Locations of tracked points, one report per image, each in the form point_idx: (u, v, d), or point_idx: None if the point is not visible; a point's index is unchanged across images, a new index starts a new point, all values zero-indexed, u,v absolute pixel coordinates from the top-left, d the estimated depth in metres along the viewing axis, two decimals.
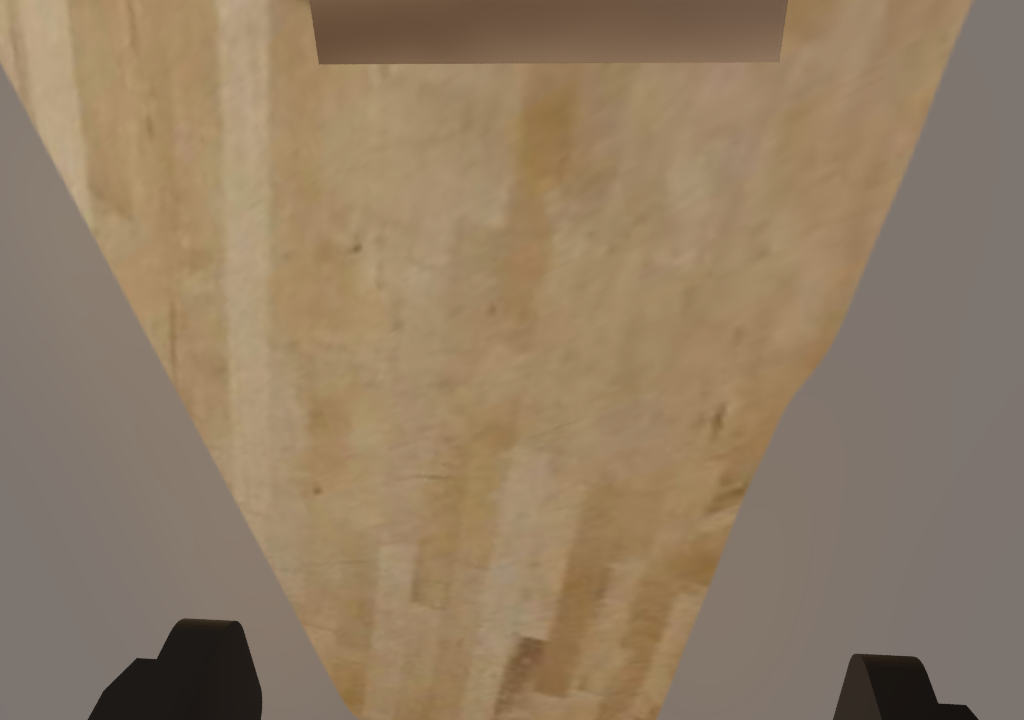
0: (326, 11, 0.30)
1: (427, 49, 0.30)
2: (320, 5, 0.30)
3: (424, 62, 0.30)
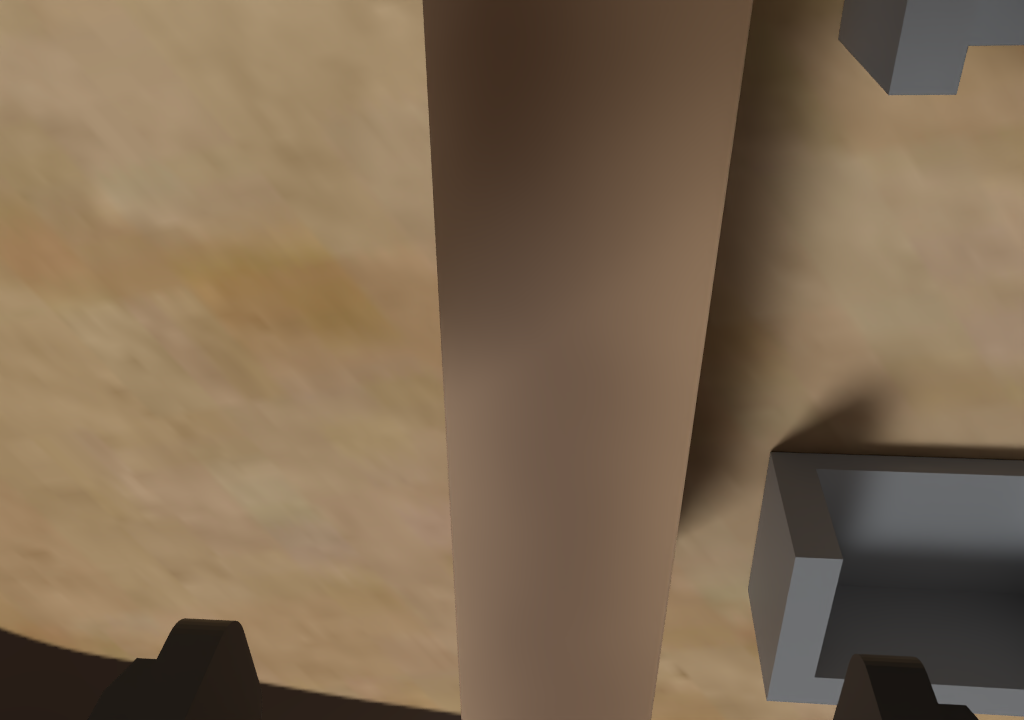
0: (558, 31, 0.11)
1: (468, 262, 0.13)
2: (574, 16, 0.11)
3: (439, 253, 0.13)
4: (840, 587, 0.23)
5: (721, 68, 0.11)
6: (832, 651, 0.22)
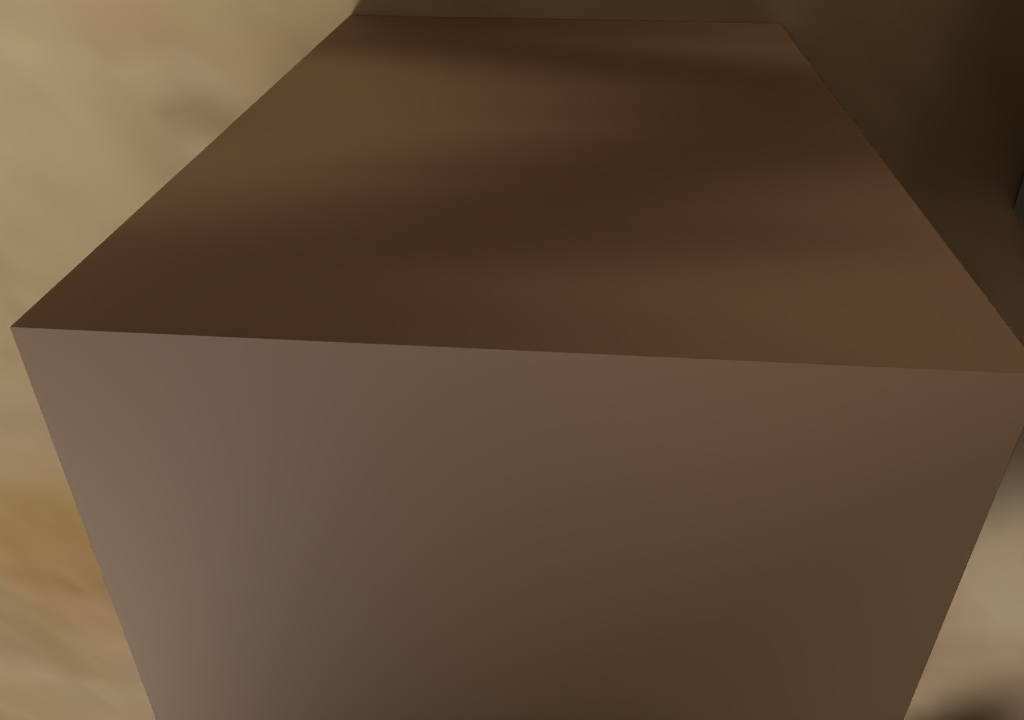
0: (432, 448, 0.04)
1: None
2: (475, 415, 0.04)
3: None
4: None
5: (907, 545, 0.04)
6: None
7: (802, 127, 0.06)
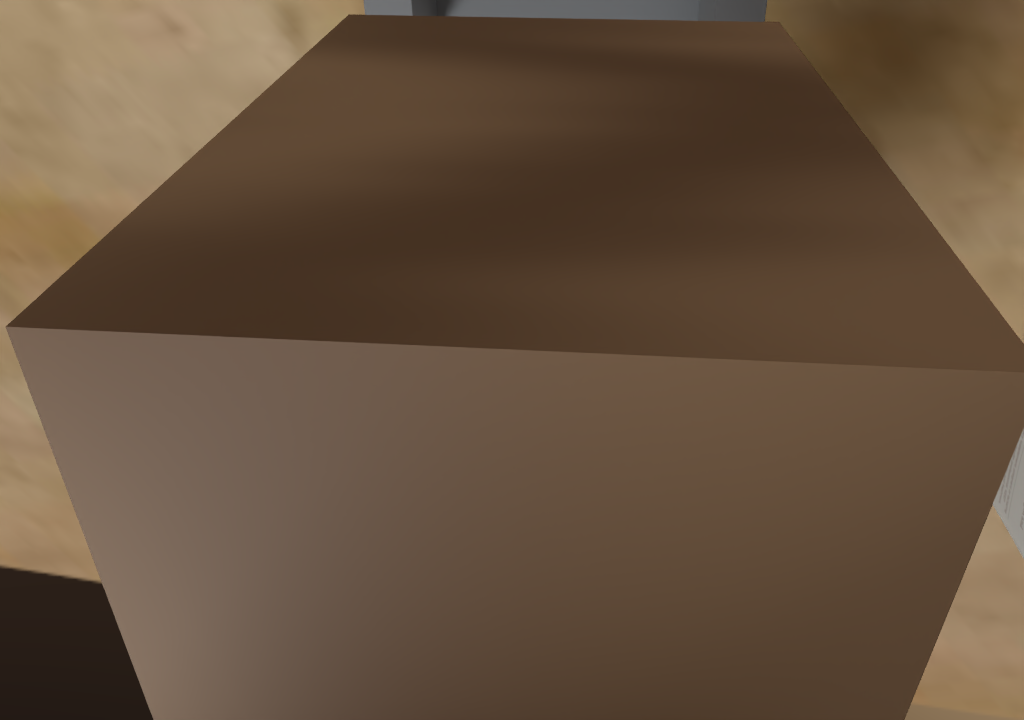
0: (431, 448, 0.04)
1: None
2: (474, 415, 0.04)
3: None
4: None
5: (908, 545, 0.04)
6: None
7: (803, 125, 0.06)
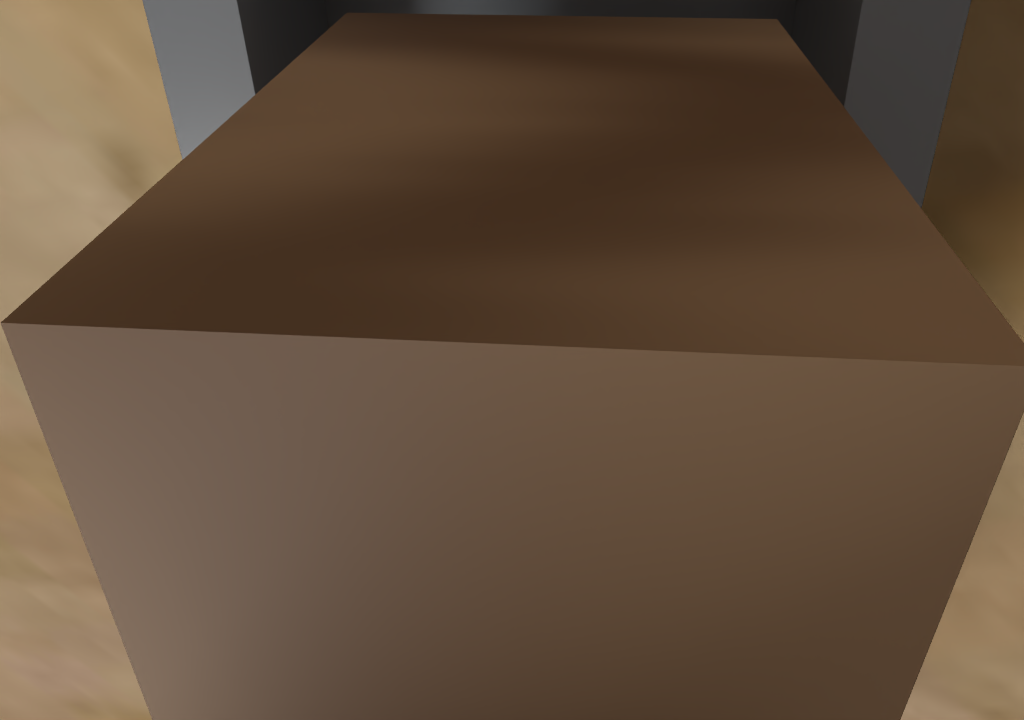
0: (426, 444, 0.04)
1: None
2: (469, 410, 0.04)
3: None
4: None
5: (904, 540, 0.04)
6: None
7: (799, 122, 0.06)
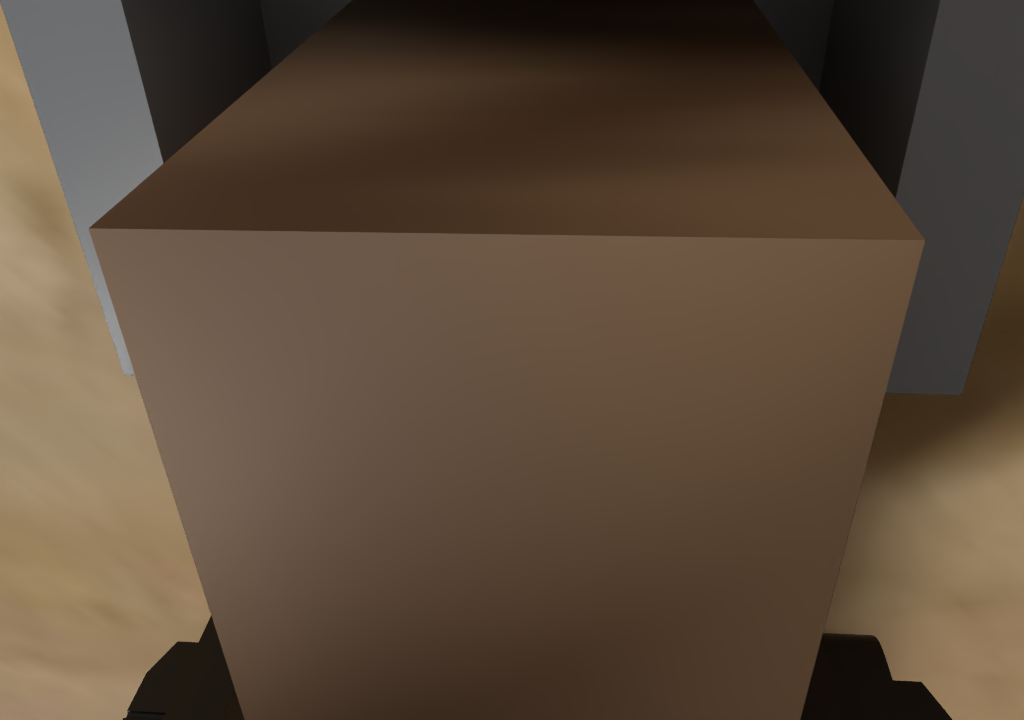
0: (432, 324, 0.05)
1: (299, 702, 0.07)
2: (467, 293, 0.05)
3: (239, 690, 0.07)
4: None
5: (828, 399, 0.05)
6: None
7: (755, 74, 0.07)
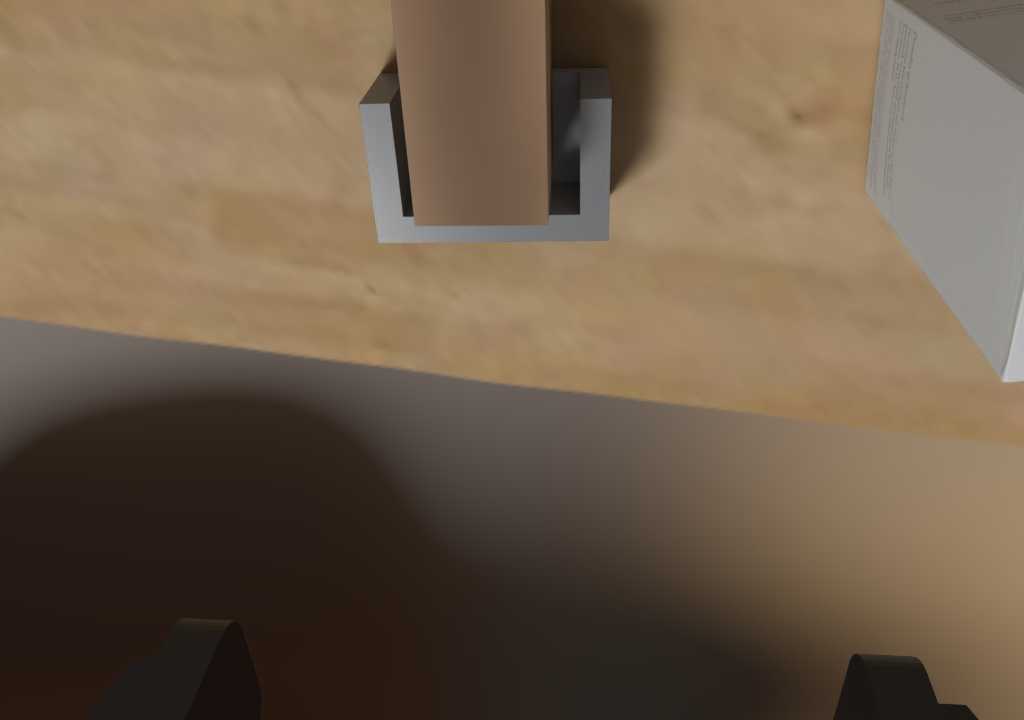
0: None
1: None
2: None
3: None
4: None
5: None
6: None
7: None
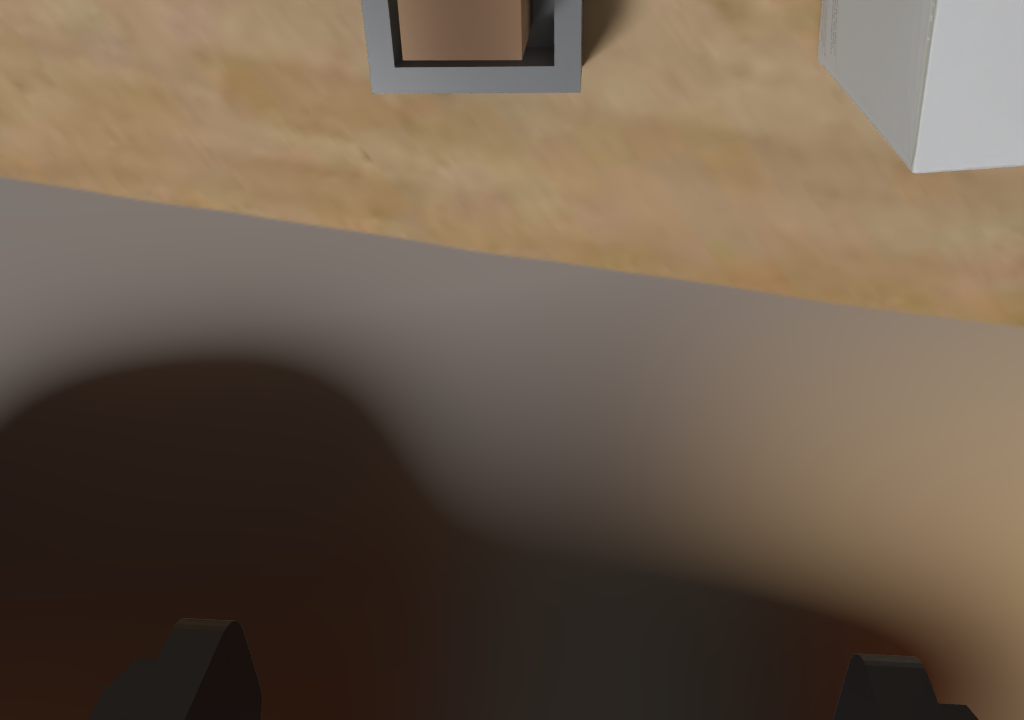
0: None
1: None
2: None
3: None
4: None
5: None
6: (413, 61, 0.34)
7: None
